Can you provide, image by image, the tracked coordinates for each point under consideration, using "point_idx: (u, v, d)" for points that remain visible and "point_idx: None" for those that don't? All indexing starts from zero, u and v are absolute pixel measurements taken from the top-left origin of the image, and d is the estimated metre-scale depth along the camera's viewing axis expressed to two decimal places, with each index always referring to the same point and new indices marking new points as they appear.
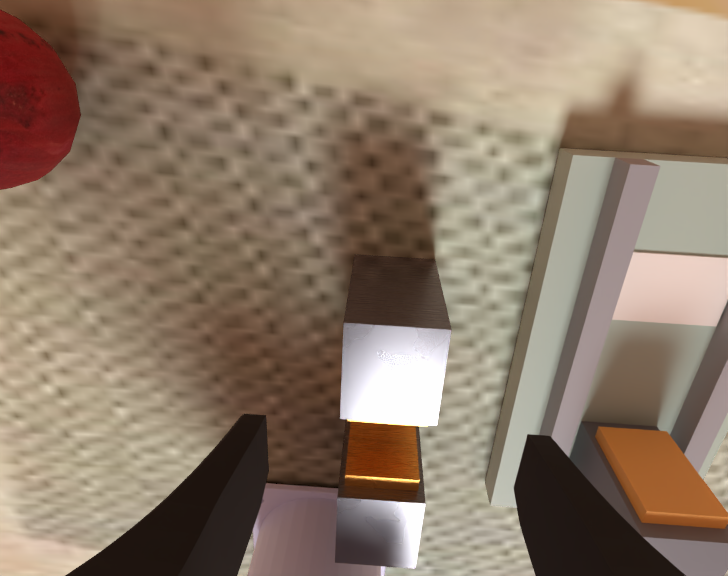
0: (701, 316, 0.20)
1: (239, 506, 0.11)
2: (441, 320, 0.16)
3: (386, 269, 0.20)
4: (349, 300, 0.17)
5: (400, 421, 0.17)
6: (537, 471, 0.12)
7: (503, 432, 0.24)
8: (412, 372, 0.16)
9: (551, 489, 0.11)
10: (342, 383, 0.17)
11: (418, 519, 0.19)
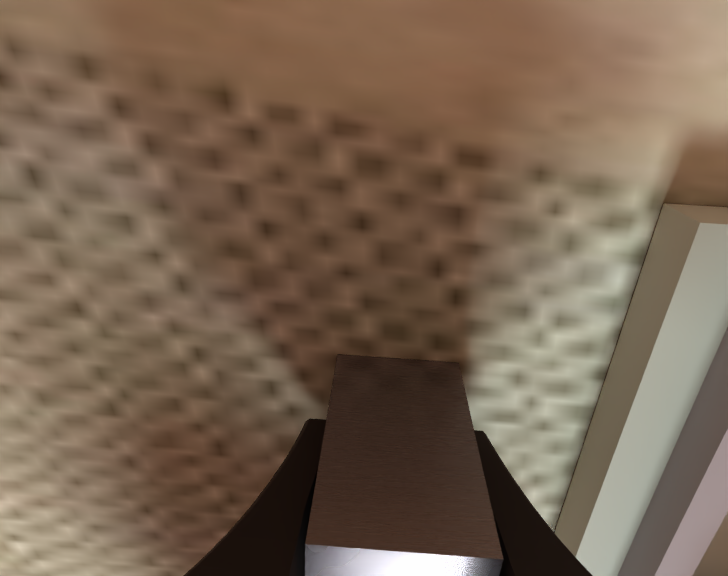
0: None
1: None
2: (481, 530, 0.09)
3: (384, 389, 0.13)
4: (320, 473, 0.10)
5: None
6: None
7: None
8: None
9: None
10: None
11: None
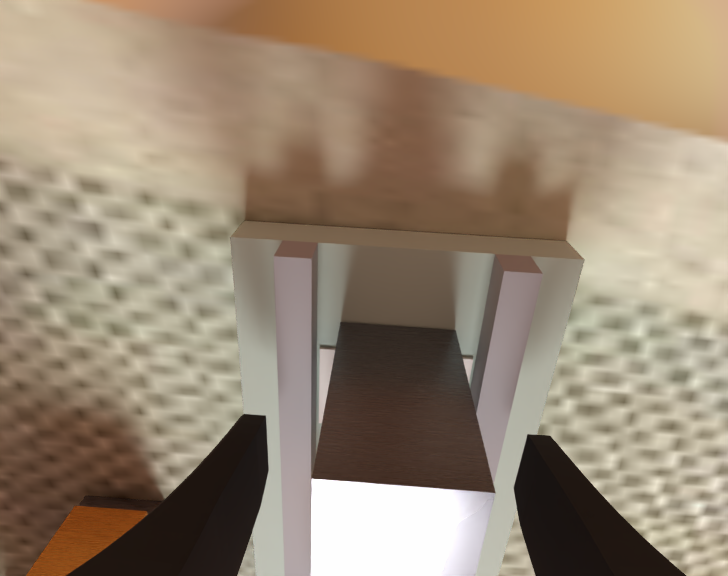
0: None
1: (238, 506, 0.11)
2: (475, 468, 0.10)
3: (385, 351, 0.13)
4: (325, 421, 0.11)
5: None
6: (537, 471, 0.12)
7: None
8: (427, 550, 0.10)
9: (551, 489, 0.11)
10: (313, 560, 0.10)
11: None
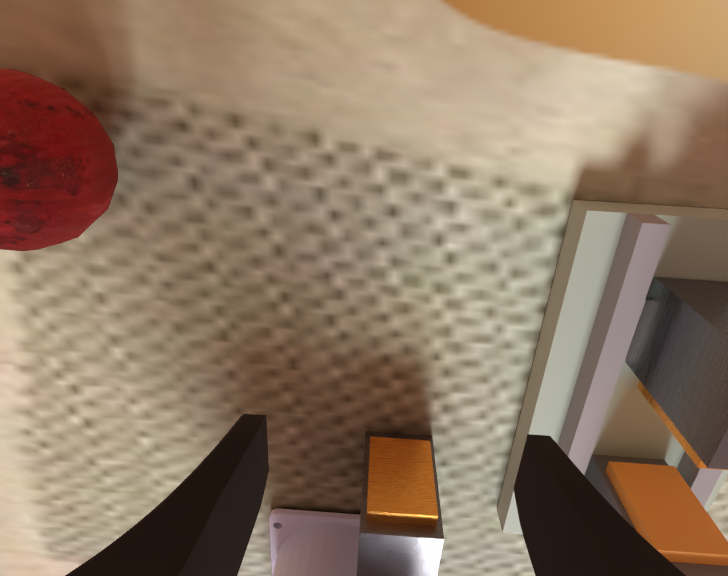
0: None
1: (239, 506, 0.11)
2: None
3: (711, 295, 0.18)
4: (726, 335, 0.15)
5: None
6: (537, 471, 0.12)
7: (516, 463, 0.24)
8: None
9: (551, 489, 0.11)
10: (727, 430, 0.15)
11: (437, 553, 0.20)
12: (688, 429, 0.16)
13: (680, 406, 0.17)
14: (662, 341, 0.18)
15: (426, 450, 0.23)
